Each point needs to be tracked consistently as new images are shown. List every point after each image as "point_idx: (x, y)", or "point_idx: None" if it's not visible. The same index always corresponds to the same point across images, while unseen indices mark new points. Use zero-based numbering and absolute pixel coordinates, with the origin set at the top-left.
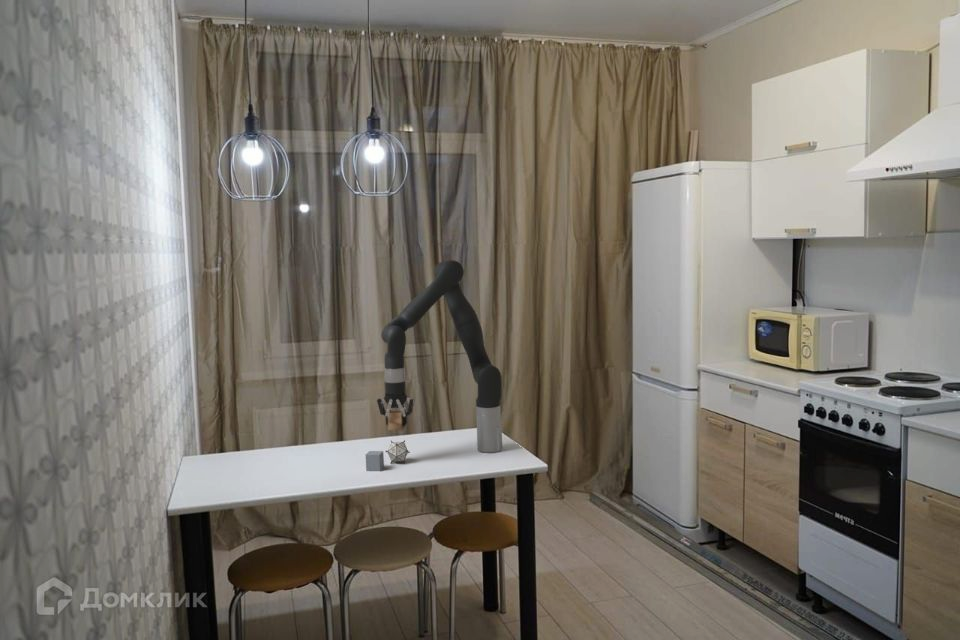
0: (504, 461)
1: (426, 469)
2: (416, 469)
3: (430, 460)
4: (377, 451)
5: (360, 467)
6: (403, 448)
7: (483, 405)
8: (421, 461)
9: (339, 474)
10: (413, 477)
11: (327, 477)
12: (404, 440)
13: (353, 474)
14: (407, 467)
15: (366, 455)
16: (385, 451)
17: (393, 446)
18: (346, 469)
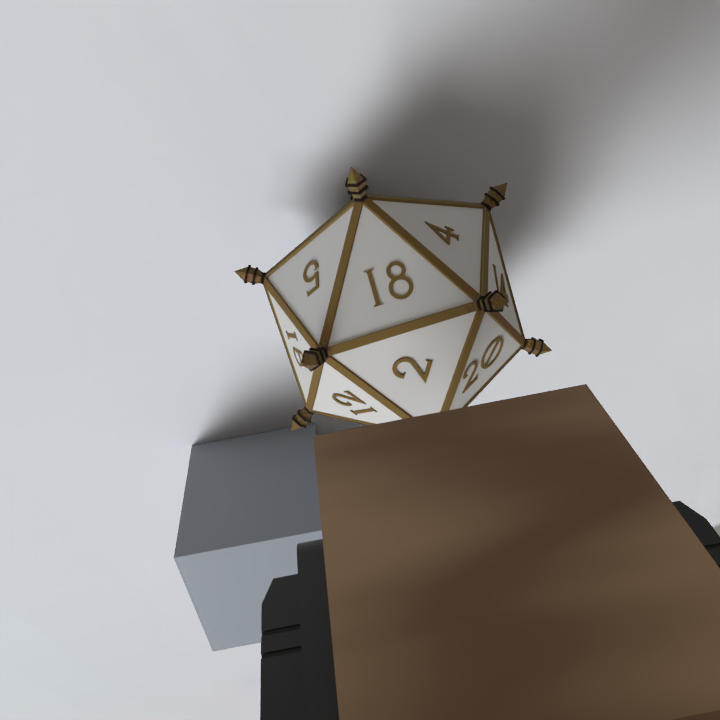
0: None
1: (697, 385)
2: (613, 405)
3: (700, 109)
4: (268, 554)
5: (109, 474)
6: (497, 369)
7: None
8: (608, 170)
9: (75, 633)
10: None
11: (43, 691)
12: (499, 307)
13: (177, 609)
14: (522, 377)
15: (221, 642)
16: (293, 427)
17: (385, 421)
18: (32, 541)
